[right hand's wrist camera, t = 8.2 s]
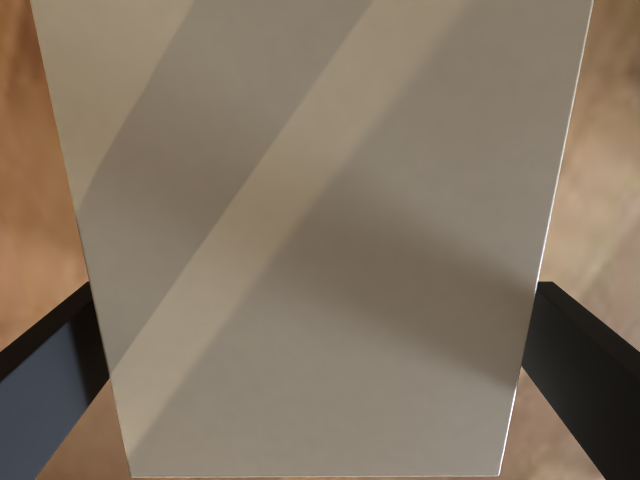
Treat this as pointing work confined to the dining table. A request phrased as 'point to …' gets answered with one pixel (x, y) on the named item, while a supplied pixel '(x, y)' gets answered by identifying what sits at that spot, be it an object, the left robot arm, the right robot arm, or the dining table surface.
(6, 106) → the dining table surface
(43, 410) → the right robot arm
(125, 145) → the cabinet
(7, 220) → the dining table surface
